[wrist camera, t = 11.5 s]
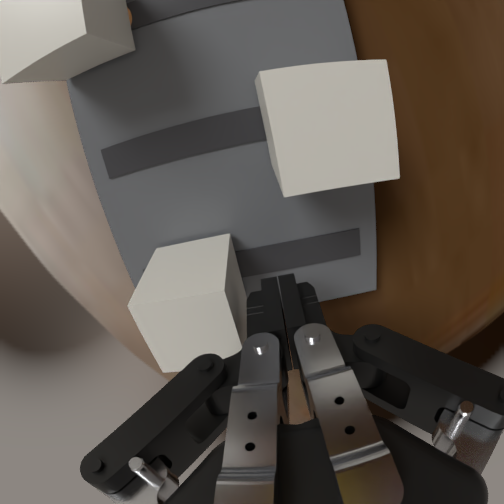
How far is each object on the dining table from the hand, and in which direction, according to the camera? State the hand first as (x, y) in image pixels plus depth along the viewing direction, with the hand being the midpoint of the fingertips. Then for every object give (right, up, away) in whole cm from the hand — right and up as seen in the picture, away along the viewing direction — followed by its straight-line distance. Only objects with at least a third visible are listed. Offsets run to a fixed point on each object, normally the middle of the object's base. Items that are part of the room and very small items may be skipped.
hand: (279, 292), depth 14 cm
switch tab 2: (-4, +1, +3) cm, 5 cm away
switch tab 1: (-9, +12, -3) cm, 16 cm away
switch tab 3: (+1, +8, -1) cm, 8 cm away
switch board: (-3, +8, +1) cm, 9 cm away
